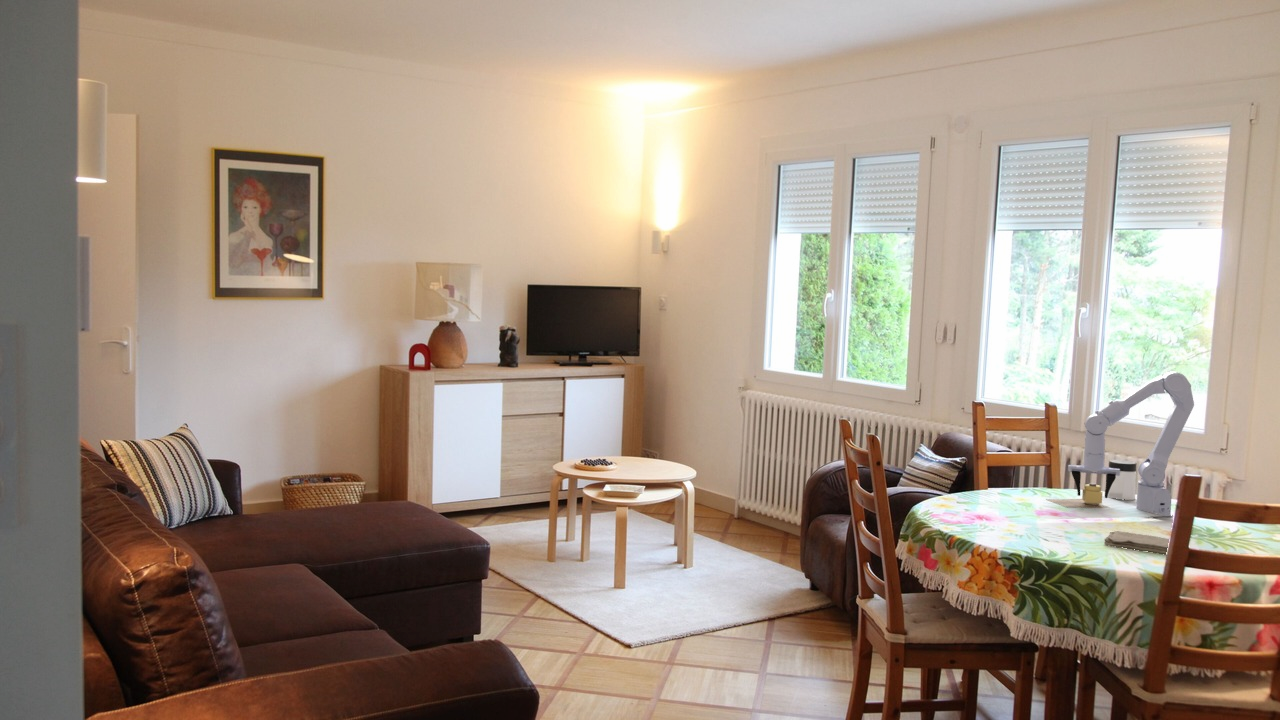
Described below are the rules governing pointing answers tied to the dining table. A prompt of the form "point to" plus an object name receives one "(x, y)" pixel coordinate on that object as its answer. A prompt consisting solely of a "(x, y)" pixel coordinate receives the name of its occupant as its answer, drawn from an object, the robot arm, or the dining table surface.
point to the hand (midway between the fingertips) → (1092, 496)
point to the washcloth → (1137, 542)
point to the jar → (1123, 480)
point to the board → (1074, 503)
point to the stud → (1092, 504)
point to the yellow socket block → (1092, 493)
